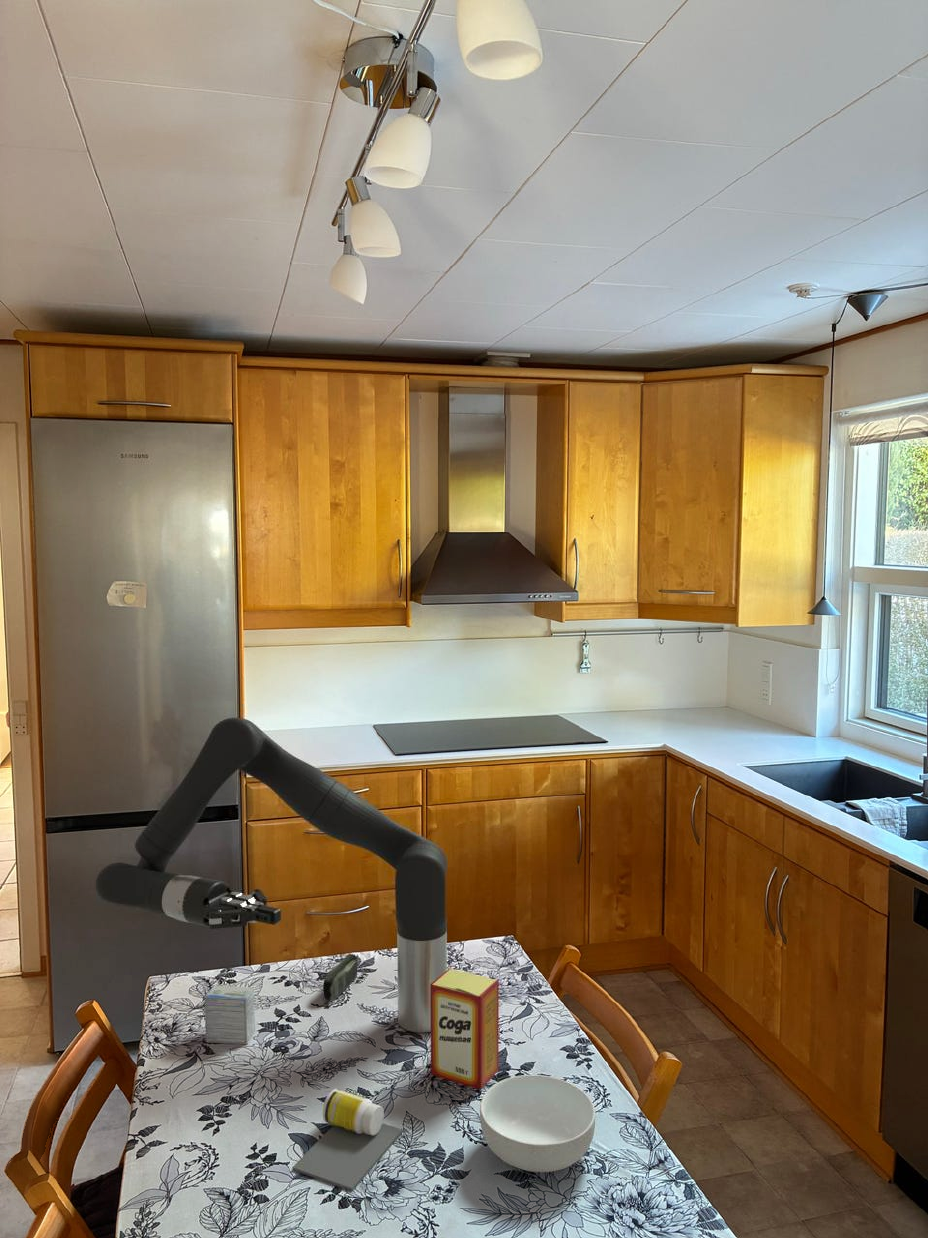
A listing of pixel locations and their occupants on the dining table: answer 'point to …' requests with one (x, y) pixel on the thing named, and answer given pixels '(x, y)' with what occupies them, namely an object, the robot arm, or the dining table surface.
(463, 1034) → the baking soda box
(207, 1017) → the medicine box
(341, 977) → the dark green elongated piece
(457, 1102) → the dining table surface
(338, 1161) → the mat
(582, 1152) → the cereal bowl
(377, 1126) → the supplement bottle
